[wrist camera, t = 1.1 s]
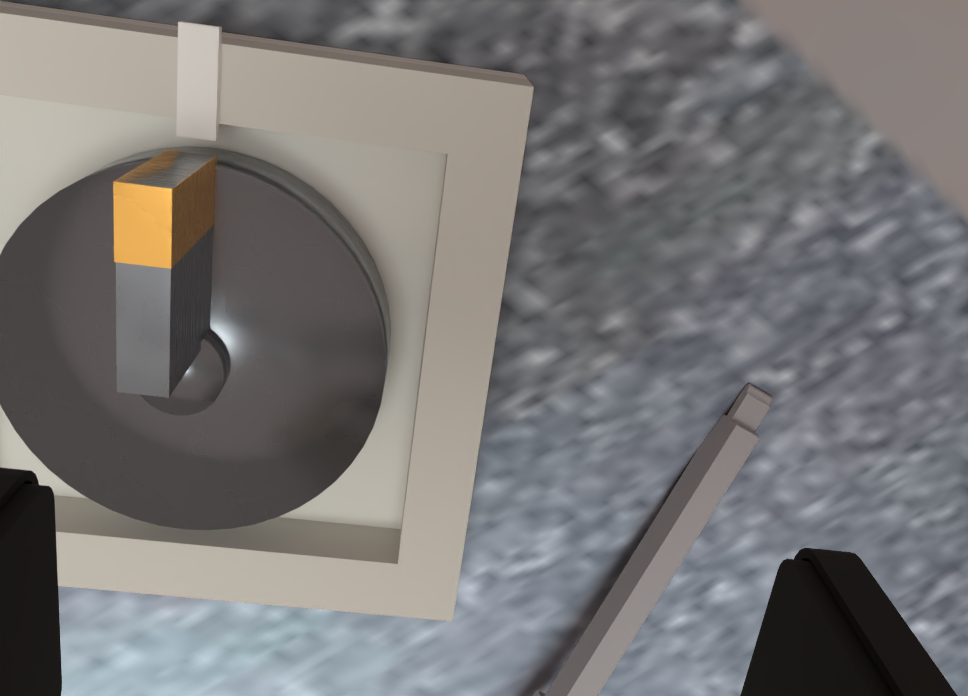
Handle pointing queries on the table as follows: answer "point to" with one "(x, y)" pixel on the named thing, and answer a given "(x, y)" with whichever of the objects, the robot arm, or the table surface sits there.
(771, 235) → the table surface
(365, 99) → the tray
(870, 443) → the table surface
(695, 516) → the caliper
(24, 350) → the grey round piece
